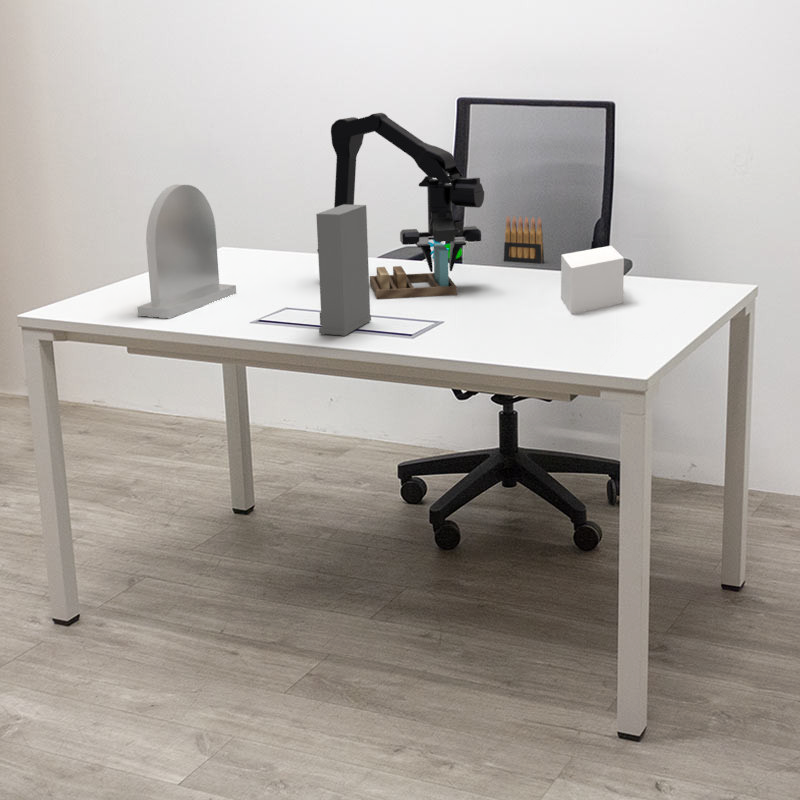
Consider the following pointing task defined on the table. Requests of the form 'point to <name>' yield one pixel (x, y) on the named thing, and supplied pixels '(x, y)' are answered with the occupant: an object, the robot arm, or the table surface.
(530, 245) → the ammunition clip
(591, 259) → the white rectangular block
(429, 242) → the multicoloured piece
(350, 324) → the tall grey pillar
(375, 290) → the rack
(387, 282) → the pine offcut
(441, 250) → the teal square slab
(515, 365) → the table surface
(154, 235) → the award
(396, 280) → the oak offcut
